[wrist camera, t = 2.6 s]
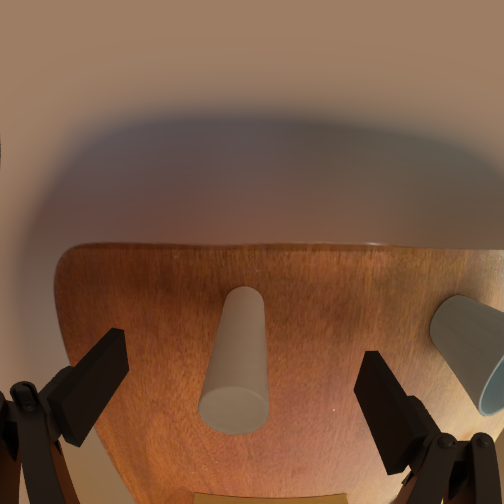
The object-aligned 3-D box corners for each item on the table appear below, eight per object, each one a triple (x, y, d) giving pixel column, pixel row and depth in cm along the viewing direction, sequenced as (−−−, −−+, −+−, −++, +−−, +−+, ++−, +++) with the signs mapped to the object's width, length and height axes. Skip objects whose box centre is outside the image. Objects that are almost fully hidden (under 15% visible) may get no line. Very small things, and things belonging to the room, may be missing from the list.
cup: (487, 292, 22) (554, 333, 12) (457, 357, 24) (509, 413, 14) (441, 274, 22) (519, 322, 12) (407, 349, 23) (461, 419, 13)
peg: (224, 319, 23) (198, 431, 11) (226, 284, 22) (196, 383, 10) (261, 322, 23) (265, 437, 11) (265, 287, 22) (274, 390, 10)
